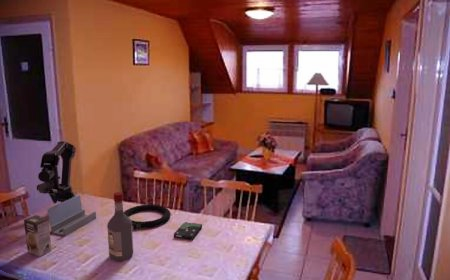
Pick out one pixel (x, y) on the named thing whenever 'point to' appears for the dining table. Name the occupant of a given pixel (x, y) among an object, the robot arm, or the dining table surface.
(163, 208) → the cable lock
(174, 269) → the dining table surface
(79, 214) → the grey tray with bar
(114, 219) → the liquor
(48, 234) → the coffee box
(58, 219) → the cover
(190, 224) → the disk drive
